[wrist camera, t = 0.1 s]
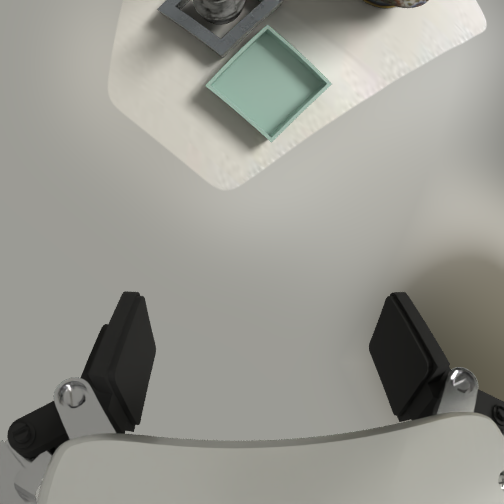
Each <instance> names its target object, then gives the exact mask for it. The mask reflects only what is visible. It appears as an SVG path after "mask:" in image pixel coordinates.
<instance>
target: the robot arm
mask: <svg viewBox="0 0 504 504" xmlns="http://www.w3.org/2000/svg"><path fill="white" fill-rule="evenodd" d="M369 351H370V354H371V356H372V358H373V361H374V364H375V366H376V369H377V371H378V374H379V376H380V379H381V381H382V384H383V387H384V389H385V392H386V395H387V397H388V400H389V403H390V406H391V408H392V411H393V413H394V415H396V416H397V417H398V419H399V422H401V421H406V420H409V419H411V420H412V421H407V422H403V423H398V424H394V425H389V426H384V427H378V428H373V429H368V430H362V431H356V432H349V433H343V434H335V435H327V436H318V437H308V438H297V439H281V440H258V441H218V440H195V439H194V440H193V439H178V438H165V437H154V436H145V435H133V434H125V430H126V431H132V432H134V429H135V425H139V424H140V421H141V416H142V410H143V406H144V401H145V397H146V392H147V388H148V383H149V379H150V374H151V370H152V366H153V362H154V358H155V353H156V346H155V342H154V338H153V333H152V329H151V325H150V321H149V316H148V312H147V307H146V302H145V298H144V297H143V296H140V294H139V293H138V292H123V294H122V296H121V298H120V300H119V302H118V304H117V307H116V309H115V311H114V314H113V316H112V318H111V320H110V322H109V325H108V324H105V325H103V327H102V329H101V331H100V333H99V335H98V338H97V340H96V342H95V344H94V347H93V349H92V352H91V354H90V356H89V358H88V361H87V363H86V366H85V368H84V371H83V373H82V376H81V378H69V379H66V380H64V381H62V382H61V383H60V384H59V385H58V386H57V388H56V389H55V392H54V401H52V402H51V403H49V404H47V405H45V406H43V407H41V408H39V409H37V410H35V411H33V412H31V413H29V414H27V415H25V416H23V417H21V418H19V419H18V420H16V421H15V422H13V423H12V425H11V426H10V428H9V430H8V440H7V441H5V442H4V441H3V440H2V441H1V442H0V504H504V402H503V401H501V400H499V399H497V398H495V397H493V396H491V395H489V394H487V393H485V392H483V391H480V390H478V382H477V379H476V377H475V376H474V374H473V373H472V372H470V371H469V370H467V369H465V368H462V367H457V368H454V369H452V370H451V369H450V368H449V365H450V363H449V362H448V360H447V358H446V356H445V355H444V353H443V351H442V349H441V348H440V346H439V344H438V343H437V341H436V339H435V338H434V336H433V334H432V333H431V331H430V329H429V328H428V326H427V325H426V323H425V321H424V320H423V318H422V317H421V315H420V313H419V312H418V310H417V309H416V307H415V306H414V304H413V302H412V301H411V299H410V298H409V296H408V295H407V294H406V293H405V292H395V293H391V294H390V296H388V297H387V298H386V300H385V304H384V306H383V309H382V312H381V315H380V318H379V320H378V323H377V325H376V328H375V331H374V333H373V336H372V338H371V341H370V344H369ZM42 479H43V480H42ZM39 485H41V487H40V491H39V495H38V500H37V501H36V497H35V495H36V490H37V489H38V487H39Z"/></svg>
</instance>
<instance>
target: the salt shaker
mask: <svg viewBox="0 0 504 504" xmlns="http://www.w3.org/2000/svg"><path fill="white" fill-rule="evenodd" d="M244 3H245V0H193V4H194V8H195V9H196V11H197V13H199V14H200V15H201V16H202V17H203V18H204V19H205V20H206V21H208V22H210V23H213V24H226V23H229V22H231V21H233V20H235V19H236V18H237V17H238V16H239V15H240V13H241V11H242V8H243V6H244Z"/></svg>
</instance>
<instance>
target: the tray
mask: <svg viewBox="0 0 504 504" xmlns="http://www.w3.org/2000/svg"><path fill="white" fill-rule="evenodd" d="M330 85H332V83H331V82H330V81H329V80H328V79H327V78H326V77H325V76H324V75H323V74H322V73H321V72H320V71H319V70H318V69H317V68H316V67H315V66H314V65H312V64H311V63H310V62H309V61H308V60H307V59H306V58H305V57H304V56H303V55H302V54H301V53H300V52H299V51H298V50H296V49H295V48H294V47H293V46H292V45H291V44H290V43H289V42H288V41H286V40H285V39H284V38H283V37H282V36H281V35H279V34H278V33H277V32H276V31H275V30H273V29H272V28H271V27H270V26H269V25H266V26H265V27H264V28H263V29H262V30H261V31H260V32H258V33H257V34H256V35H255V36H254V37H253V38H252V39H251V40H250V41H249V42H248V43H247V44H246V45H245V46H244V47H242V48H241V49H240V50H239V51H238V52H237V53H236V54H235V55H234V56H233V57H232V58H231V59H230V60H229V61H228V62H227V63H226V64H225V65H224V66H223V67H222V68H221V69H220V70H219V72H218V73H217V74H216V75H215V76H214V77H213V78H212V79H211V80H210V81H209V82H208V83H207V84H206V85H205V86H206V87H207V88H209V89H210V90H211V91H212V92H213V93H215V94H216V95H217V96H218V97H220V98H221V99H222V100H223V101H224V102H226V103H227V104H228V105H229V106H230V107H232V108H233V109H234V110H235V111H236V112H237V113H239V114H240V115H241V116H242V117H243V118H244V119H246V120H247V121H248V122H249V123H250V124H251V125H252V126H254V127H255V128H256V129H257V130H258V131H259V132H260V133H261V134H263V135H264V136H265V137H266V138H267V139H268V140H269V141H270V142H271V143H272V142H273V141H274V140H275V139H276V138H277V137H278V136H279V135H280V134H281V133H282V132H283V131H284V130H285V129H286V128H287V127H288V126H289V125H290V124H291V123H292V122H293V121H294V120H295V119H296V118H297V117H298V116H299V115H300V114H301V113H302V112H303V111H304V110H305V109H306V108H307V107H308V106H309V105H310V104H311V103H312V102H313V101H314V100H316V99H317V98H318V97H319V96H320V95H321V94H322V93H323V92H324V91H325V90H326V89H327V88H328V87H329V86H330Z"/></svg>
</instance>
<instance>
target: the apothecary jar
mask: <svg viewBox="0 0 504 504" xmlns="http://www.w3.org/2000/svg"><path fill="white" fill-rule="evenodd" d="M363 1H364V2H366V3H368V4H370V5H373V6H376V7H380V8H393V7H402V8H413V7H418V6H421V5H423V4H425V3H426V2H427V1H429V0H363Z"/></svg>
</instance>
